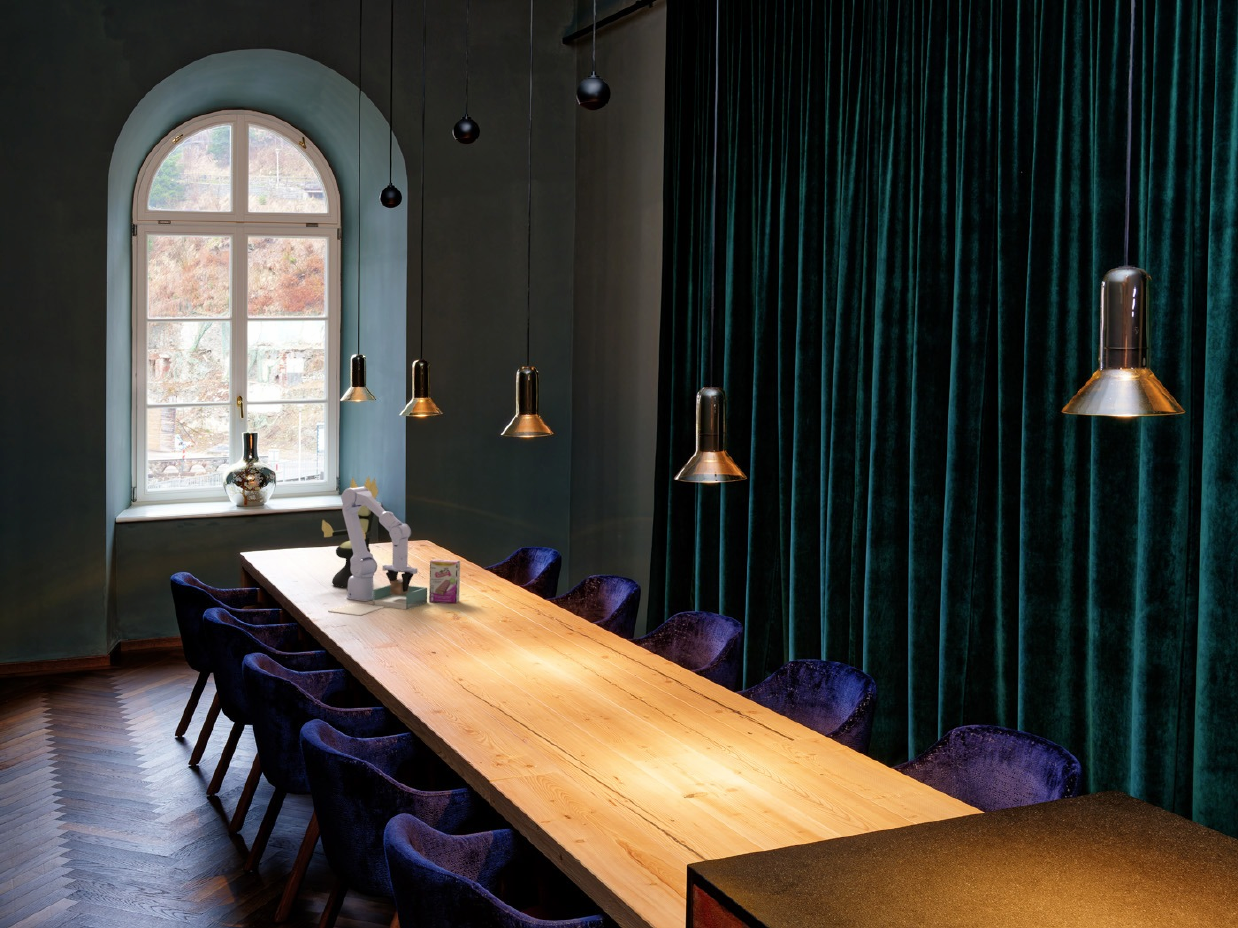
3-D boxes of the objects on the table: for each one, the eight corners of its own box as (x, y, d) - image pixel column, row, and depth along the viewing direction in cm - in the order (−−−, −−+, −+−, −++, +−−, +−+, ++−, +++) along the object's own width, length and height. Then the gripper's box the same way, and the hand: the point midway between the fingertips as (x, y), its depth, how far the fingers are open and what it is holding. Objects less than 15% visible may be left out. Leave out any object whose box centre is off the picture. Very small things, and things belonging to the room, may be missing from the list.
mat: (328, 611, 444) (328, 610, 444) (353, 603, 459) (353, 602, 459) (359, 615, 439) (359, 614, 439) (384, 607, 454) (384, 606, 454)
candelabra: (319, 586, 491) (320, 477, 487) (351, 577, 512) (352, 473, 508) (358, 591, 484) (359, 480, 480) (388, 582, 505) (389, 476, 500)
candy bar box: (428, 602, 466) (429, 560, 465) (432, 599, 471) (432, 558, 470) (456, 603, 465) (457, 562, 464) (459, 601, 470) (460, 560, 469)
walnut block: (390, 594, 459) (390, 581, 458) (398, 591, 464) (399, 578, 464) (400, 595, 457) (400, 582, 457) (408, 592, 463) (408, 579, 462)
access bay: (373, 605, 458) (373, 589, 458) (392, 598, 471) (393, 583, 470) (408, 609, 452) (408, 593, 452) (427, 602, 465) (427, 587, 465)
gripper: (378, 555, 458) (377, 590, 460) (410, 558, 453) (410, 594, 454) (388, 552, 465) (388, 587, 466) (420, 556, 460) (420, 590, 461)
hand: (399, 590), depth 461 cm, fingers closed on walnut block, 4 cm apart
